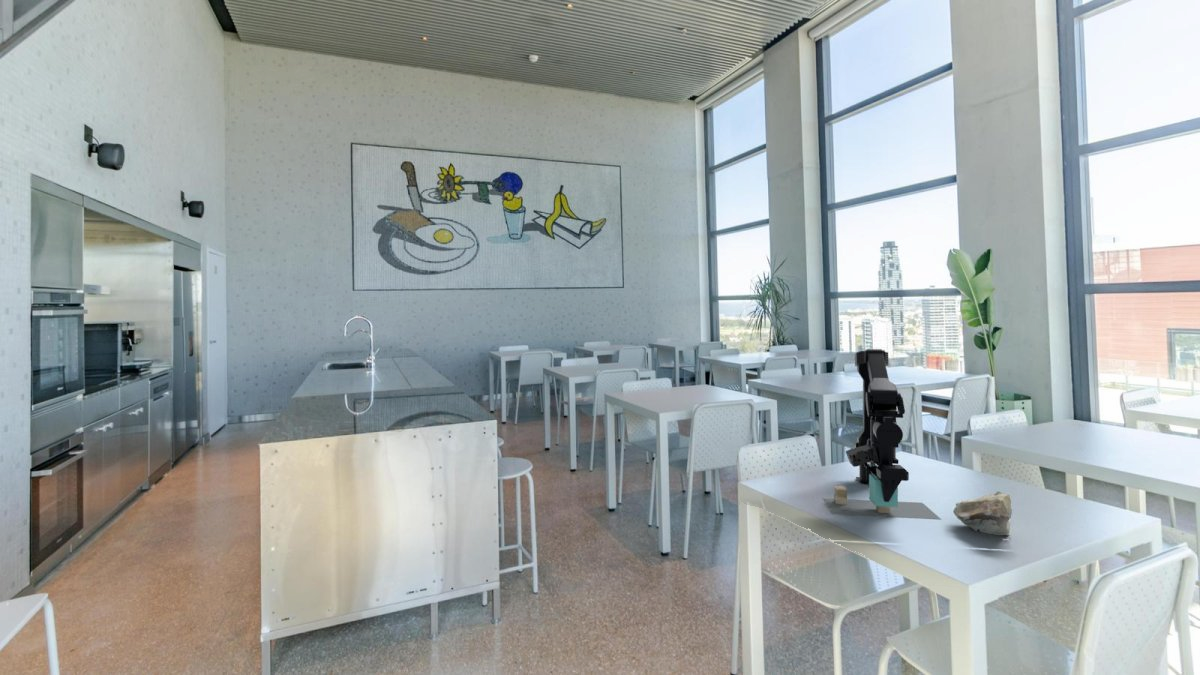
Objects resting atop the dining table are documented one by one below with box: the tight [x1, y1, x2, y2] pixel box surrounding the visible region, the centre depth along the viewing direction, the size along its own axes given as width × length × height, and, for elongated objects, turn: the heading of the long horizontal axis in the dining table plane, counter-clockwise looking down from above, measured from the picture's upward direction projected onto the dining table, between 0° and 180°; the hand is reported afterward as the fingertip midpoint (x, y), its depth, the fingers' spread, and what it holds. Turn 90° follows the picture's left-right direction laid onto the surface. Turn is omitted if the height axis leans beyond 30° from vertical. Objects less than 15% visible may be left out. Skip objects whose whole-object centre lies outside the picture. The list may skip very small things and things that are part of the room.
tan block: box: [833, 485, 848, 505], centre depth 145 cm, size 3×3×4 cm
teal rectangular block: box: [868, 474, 899, 507], centre depth 138 cm, size 5×5×7 cm
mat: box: [821, 498, 942, 521], centre depth 140 cm, size 12×25×1 cm, turn 79°
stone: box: [953, 491, 1013, 537], centre depth 125 cm, size 11×14×10 cm
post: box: [876, 506, 890, 513], centre depth 138 cm, size 3×3×6 cm
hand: (882, 497), depth 138 cm, fingers closed on teal rectangular block, 5 cm apart
